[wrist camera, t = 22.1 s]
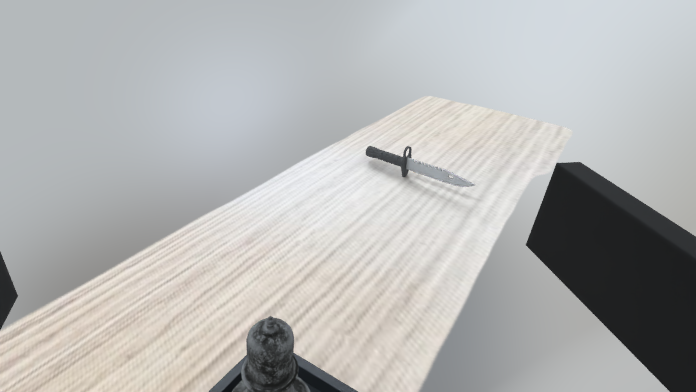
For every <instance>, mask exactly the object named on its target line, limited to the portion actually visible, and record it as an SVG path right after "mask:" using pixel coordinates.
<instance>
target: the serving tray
mask: <svg viewBox="0 0 696 392" xmlns="http://www.w3.org/2000/svg"><path fill="white" fill-rule="evenodd" d="M293 355H294V356H295V358H296V360H297V362H298V367H299V370H298V377H299V378H301V379H302V380H303V382H304V383H305V384H306V385H307V386H308V388H309V390H310V392H358V391H356V390H354V389H353V388H351V387H349V386H348V385H346V384H344V383H343V382H341V381H339V380H338V379H336V378H334V377H333V376H331V375H329V374H328V373H326V372H324V371H323V370H321V369H319V368H318V367H316V366H315V365H313V364H311V363H310V362H308V361H306V360H305V359H303V358H301V357H300V356H298V355H296V354H295V353H293ZM246 358H247V355H246V356H245V357H244V358H243V359H242V360H241V361H240V362H239V363H238V364H237V365H236V366H235V367H234V368H233V369H232V370H231V371H230V372H228V373H227V374H226V375H225V376H224V377H223V378H222V379H221V380H220V381H219V382H218V383H217V384H216V385H215V386H214V387H213V388H212V389H211V390H210V391H209V392H232V391H233V389H234V388H235V387H236V386H237V385H238V384H239V383H240V382H241V381H242V374H241V370H242V366H243V363H244V362H245V360H246Z"/></svg>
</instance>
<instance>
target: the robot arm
mask: <svg viewBox="0 0 696 392" xmlns="http://www.w3.org/2000/svg"><path fill="white" fill-rule="evenodd" d="M526 246H527V247H528V248H529V249H530V250H531V251H532V252H533V253H534V254H535V255H536V256H537V257H538V258H539V259H540V260H541V261H542V262H543V263H544V264H545V265H546V266H547V267H548V268H549V269H550V270H551V271H552V272H553V273H554V274H555V275H556V276H557V277H558V278H559V279H560V280H561V281H562V282H563V283H564V284H565V285H566V286H567V287H568V288H569V289H570V290H571V291H572V292H573V293H574V294H575V295H576V297H577V298H579V300H580V301H581V302H582V303H583V304H584V305H585V306H586V307H587V308H588V309H589V310H590V311H591V312H592V313H593V314H594V315H595V316H596V317H597V318H598V319H599V320H600V321H601V322H602V323H603V324H604V325H605V326H606V327H607V328H608V329H609V330H610V331H611V332H612V333H613V334H614V335H615V336H616V337H617V338H618V339H619V340H620V341H621V342H622V343H623V344H624V345H625V346H626V347H627V348H628V349H629V350H630V351H631V352H632V354H634V355H635V357H636V358H637V359H638V360H639V361H640V362H641V363H642V364H643V365H644V366H645V367H647V369H648V370H649V371H650V372H651V373H652V374H653V375H654V376H655V377H656V378H657V379H658V380H659V381H660V382H661V383H662V384H663V385H664V386H665V387H666V388H667V389H668V390H669V391H670V392H696V237H695V236H694V235H692V234H691V233H689V232H688V231H686V230H684V229H683V228H681V227H680V226H678V225H677V224H675V223H674V222H672V221H670V220H669V219H667V218H666V217H664V216H663V215H661V214H660V213H658V212H657V211H655V210H653V209H652V208H650V207H649V206H647V205H646V204H644V203H643V202H641V201H639V200H638V199H636V198H635V197H633V196H632V195H630V194H629V193H627V192H626V191H624V190H622V189H621V188H619V187H617V186H616V185H615V184H613V183H612V182H610V181H608V180H607V179H605V178H604V177H602V176H601V175H599V174H597V173H596V172H594V171H593V170H591V169H590V168H588V167H587V166H585V165H584V164H582V163H580V162H573V163H557V164H556V166H555V169H554V172H553V174H552V177H551V180H550V182H549V185H548V188H547V190H546V193H545V196H544V198H543V201H542V204H541V206H540V209H539V212H538V214H537V217H536V220H535V222H534V225H533V227H532V230H531V233H530V235H529V238H528V241H527V243H526ZM17 297H18V295H17V293H16V290H15V288H14V285H13V282H12V280H11V277H10V275H9V273H8V270H7V267H6V265H5V262H4V260H3V258H2V255H1V252H0V329H1V328H2V325H3V323H4V322H5V320H6V318H7V316H8V314H9V312H10V310H11V308H12V306H13V304H14V303H15V301H16V299H17Z"/></svg>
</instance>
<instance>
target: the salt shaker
mask: <svg viewBox="0 0 696 392" xmlns="http://www.w3.org/2000/svg"><path fill="white" fill-rule="evenodd" d="M293 348H294V336H293V332H292V329H291V327H290V326H289V325H288V324H287V323H286V322H284V321H282V320H281V319H277V318H273V317H271V316H270V317H268V318H266V319H263V320H261V321H259V322H258V323H256V324H255V325H254V326H253V327H252V328H251V329H250V331H249V333H248V337H247V358H246V360H245V362H244V363H243V366H242V370H241V374H242V381H241V382H240V383H239V384H238V385H237V386H236V387H235V388H234V389H233V391H232V392H310V390H309V388H308V386H307V385H306V384H305V383H304V382H303V380H302V379H301V378H299V377H298V370H299V367H298V362H297V360H296V358H295V356H294V355H293Z"/></svg>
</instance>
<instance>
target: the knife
mask: <svg viewBox="0 0 696 392" xmlns="http://www.w3.org/2000/svg"><path fill="white" fill-rule="evenodd" d="M408 148H409V154H408V156H407V157H406V151H407V149H408ZM366 155H367V156H369V157H372V158H377V159H380V160H383V161H386V162H389V163H391V164H394V165H398V166H400V167H401V169H402V177H405V176H406V175H407V174H408V170H410V171H413V172H416V173H419V174H422V175H425V176H428V177H431V178H434V179H436V180H439V181H442V182H445V183H448V184H452V185H455V186H461V187H469V186H474V185H475V184H473V183H471V182H469V181H467V180H465V179H463V178H461V177H459V176H457V175H455V174H454V173H452V172H450V171H448V170H446V169H441V168H439V169H438V167H434V166H433V165H432V167H431V165H429V167H428V165H427V164H426V163H425V165H424V163H423V162H422V164H421V162H420V161H418V162H417V160H415V162H414V159H411V147H409V146H407V147H406V148H405V150H404V154H403V157H401V156H398V155H395V154H392V153H389V152H385V151H382V150H379V149H377V148H375V147H372V146H369V147H368V148H367V149H366ZM435 168H436V169H435ZM442 170H443V171H442ZM449 175H451V176H453V179H452V178H449V177H448V176H449Z"/></svg>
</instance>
